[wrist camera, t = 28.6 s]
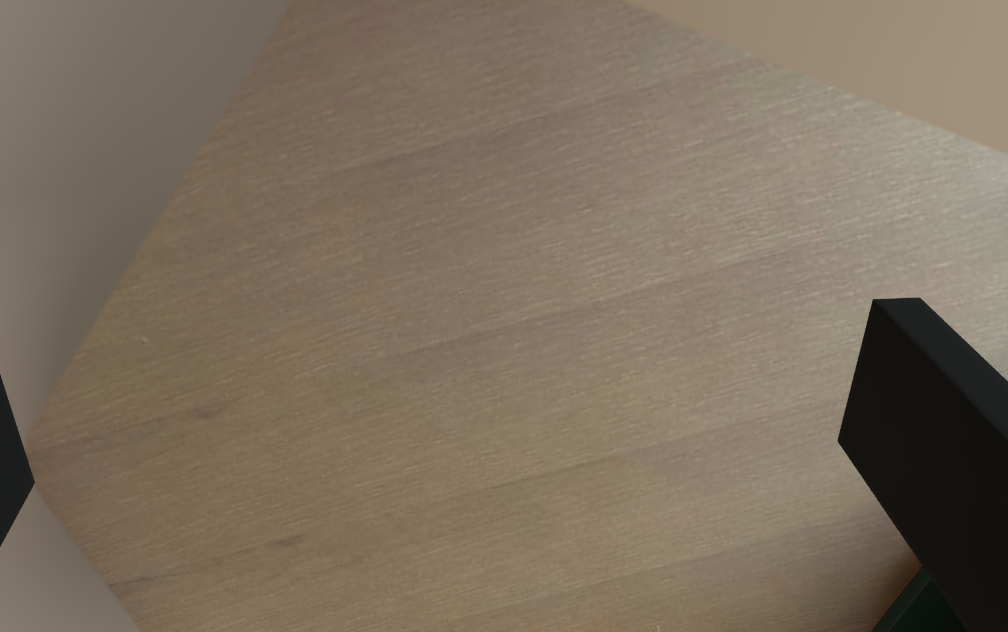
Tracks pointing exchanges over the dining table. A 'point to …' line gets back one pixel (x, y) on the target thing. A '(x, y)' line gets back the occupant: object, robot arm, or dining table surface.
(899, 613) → the cupboard
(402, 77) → the dining table surface
